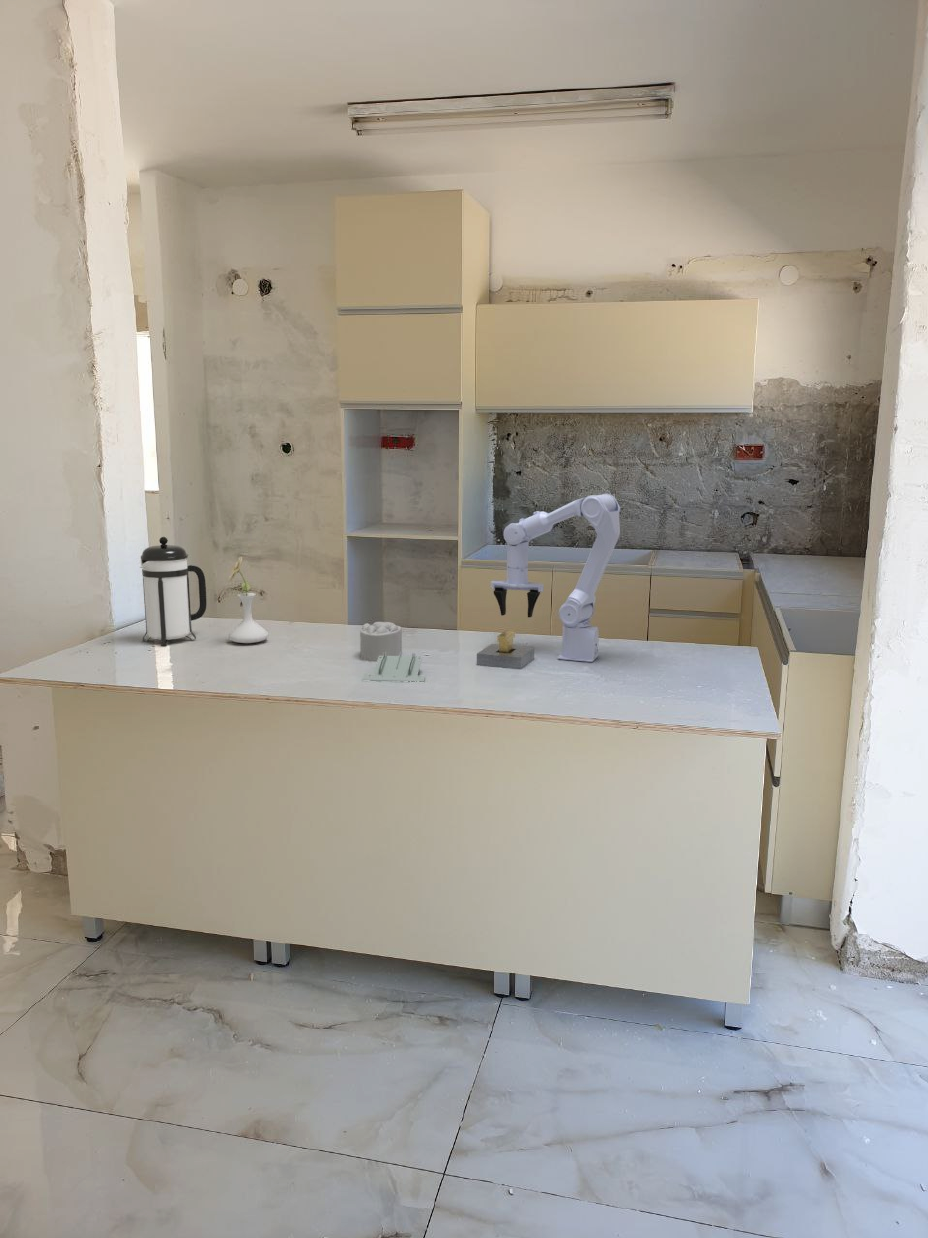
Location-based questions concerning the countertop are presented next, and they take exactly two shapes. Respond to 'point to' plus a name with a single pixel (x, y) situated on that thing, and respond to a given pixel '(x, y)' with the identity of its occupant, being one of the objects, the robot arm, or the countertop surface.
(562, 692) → the countertop surface
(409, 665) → the metal bracket
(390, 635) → the lumpy-topped squat cylinder
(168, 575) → the coffee press
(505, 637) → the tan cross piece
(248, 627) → the flower in vase
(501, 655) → the metal plate with slot
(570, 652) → the robot arm
